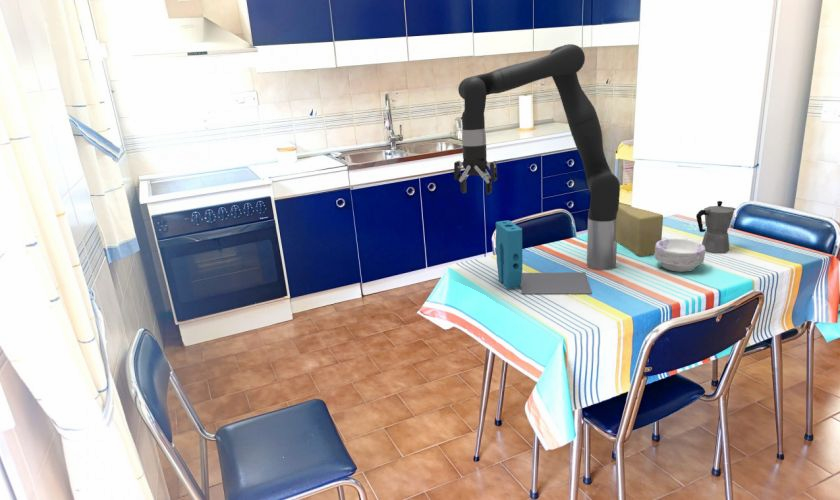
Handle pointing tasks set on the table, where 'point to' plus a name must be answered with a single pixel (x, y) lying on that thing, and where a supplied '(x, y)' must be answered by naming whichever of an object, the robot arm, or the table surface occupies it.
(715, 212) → the coffeepot
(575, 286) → the mat
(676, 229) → the table surface
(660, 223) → the tan rectangular box
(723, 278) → the table surface
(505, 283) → the block
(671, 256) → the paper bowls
